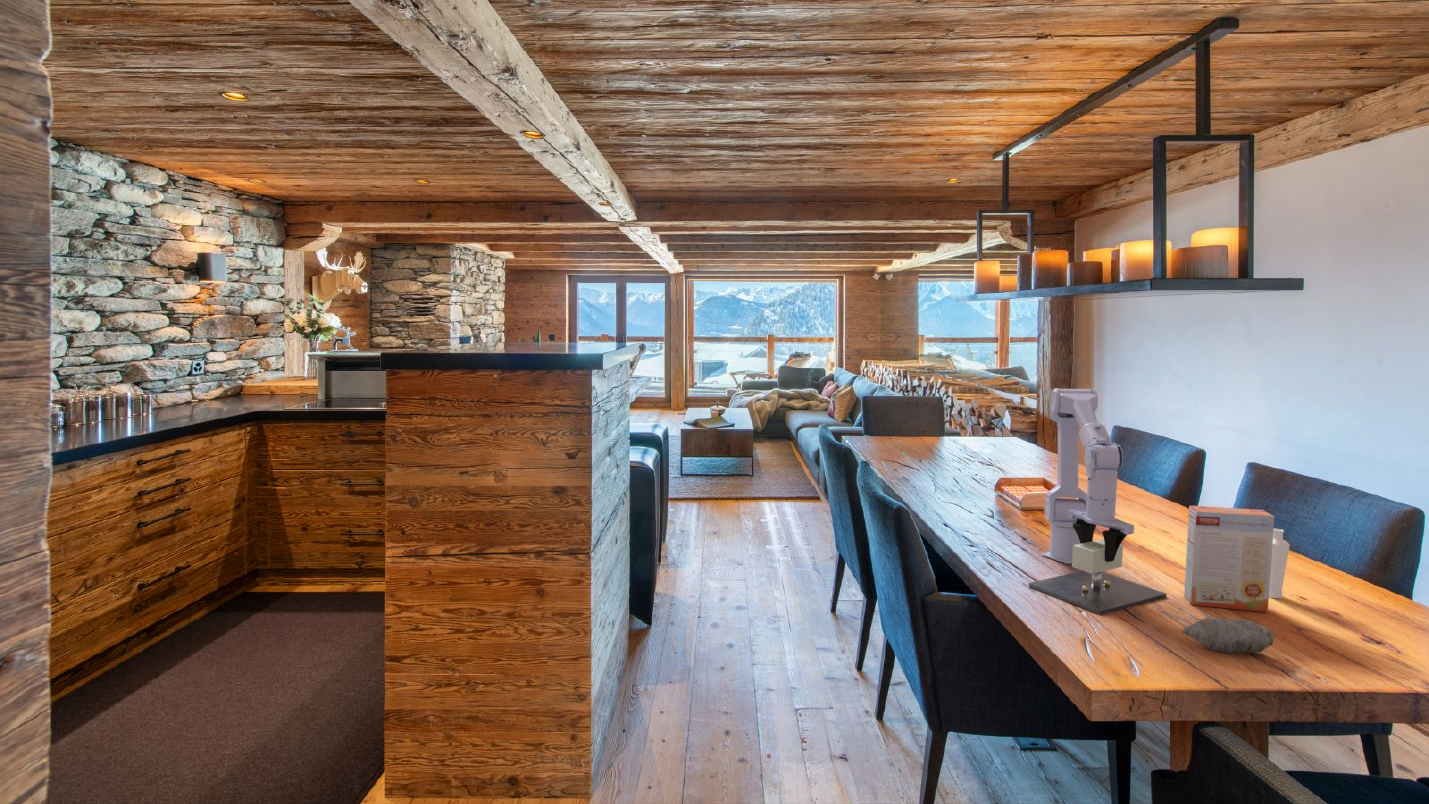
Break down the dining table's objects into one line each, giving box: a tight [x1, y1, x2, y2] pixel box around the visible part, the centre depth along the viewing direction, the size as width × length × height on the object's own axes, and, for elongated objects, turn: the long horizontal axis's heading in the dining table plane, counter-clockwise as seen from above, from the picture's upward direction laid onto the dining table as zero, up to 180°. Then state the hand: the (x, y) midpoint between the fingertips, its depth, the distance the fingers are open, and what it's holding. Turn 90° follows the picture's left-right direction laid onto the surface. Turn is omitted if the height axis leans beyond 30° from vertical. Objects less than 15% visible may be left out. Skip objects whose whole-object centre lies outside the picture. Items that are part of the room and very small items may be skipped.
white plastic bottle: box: [1269, 527, 1291, 599], centre depth 157 cm, size 5×4×15 cm
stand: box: [1028, 570, 1167, 616], centre depth 160 cm, size 22×18×5 cm
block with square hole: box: [1071, 538, 1124, 574], centre depth 159 cm, size 10×5×5 cm, turn 116°
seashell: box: [1181, 617, 1275, 654], centre depth 131 cm, size 6×14×8 cm, turn 75°
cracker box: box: [1183, 505, 1275, 613], centre depth 152 cm, size 14×6×21 cm, turn 71°
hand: (1097, 557), depth 159 cm, fingers closed on block with square hole, 5 cm apart
